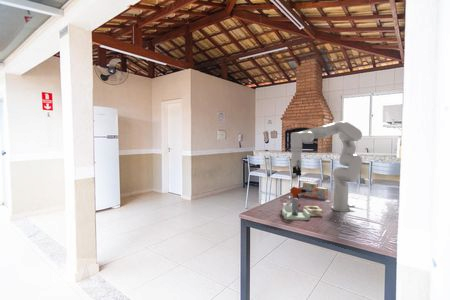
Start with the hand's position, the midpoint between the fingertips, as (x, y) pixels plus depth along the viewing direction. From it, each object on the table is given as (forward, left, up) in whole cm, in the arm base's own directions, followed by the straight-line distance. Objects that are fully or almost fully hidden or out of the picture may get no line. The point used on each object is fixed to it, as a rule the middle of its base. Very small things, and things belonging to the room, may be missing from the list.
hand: (296, 174), depth 159 cm
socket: (-12, 0, -28) cm, 30 cm away
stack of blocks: (-29, -49, -28) cm, 64 cm away
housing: (+4, -4, -28) cm, 28 cm away
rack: (+2, +8, -28) cm, 29 cm away
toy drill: (-8, -17, -28) cm, 34 cm away
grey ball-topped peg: (+4, -4, -27) cm, 28 cm away
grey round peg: (+2, +8, -26) cm, 27 cm away
